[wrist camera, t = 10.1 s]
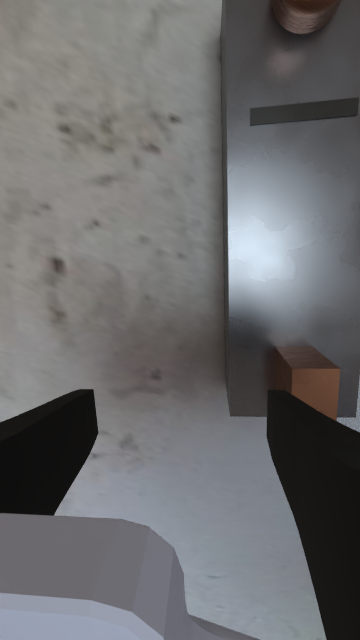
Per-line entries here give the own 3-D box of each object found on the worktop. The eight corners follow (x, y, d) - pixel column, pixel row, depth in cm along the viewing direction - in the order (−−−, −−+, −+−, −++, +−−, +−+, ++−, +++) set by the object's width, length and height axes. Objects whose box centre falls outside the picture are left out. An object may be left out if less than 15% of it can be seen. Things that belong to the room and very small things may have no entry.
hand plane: (345, 19, 16) (469, -198, 8) (323, 383, 20) (391, 455, 13) (220, 35, 17) (230, -151, 9) (225, 383, 21) (235, 452, 14)
